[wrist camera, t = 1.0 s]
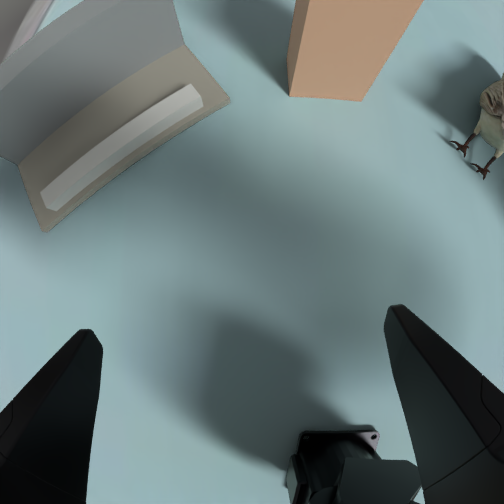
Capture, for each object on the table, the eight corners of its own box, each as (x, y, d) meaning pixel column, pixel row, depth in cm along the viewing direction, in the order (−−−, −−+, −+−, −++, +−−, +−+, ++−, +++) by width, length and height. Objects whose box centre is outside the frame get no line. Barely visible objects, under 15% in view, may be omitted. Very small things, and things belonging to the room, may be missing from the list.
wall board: (230, 102, 23) (221, 29, 15) (47, 232, 23) (-26, 215, 14) (167, 28, 24) (146, -39, 15) (14, 139, 23) (-44, 104, 14)
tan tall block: (361, 101, 23) (438, -25, 9) (289, 96, 23) (320, -53, 9) (354, 64, 24) (413, -60, 9) (286, 59, 24) (309, -83, 9)
